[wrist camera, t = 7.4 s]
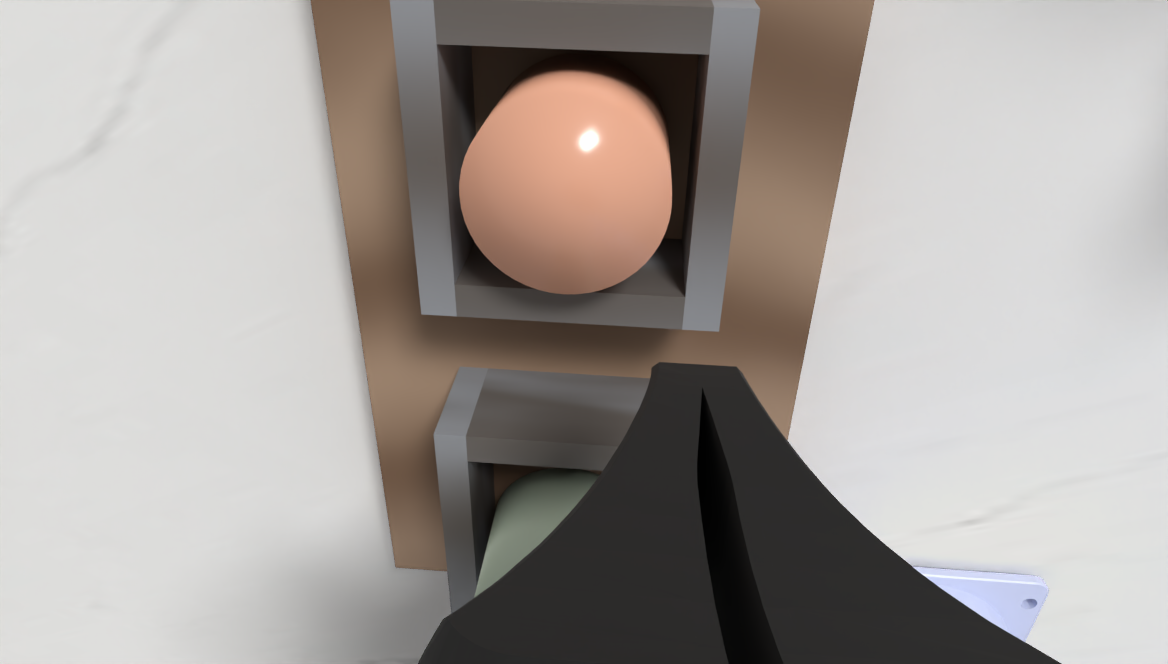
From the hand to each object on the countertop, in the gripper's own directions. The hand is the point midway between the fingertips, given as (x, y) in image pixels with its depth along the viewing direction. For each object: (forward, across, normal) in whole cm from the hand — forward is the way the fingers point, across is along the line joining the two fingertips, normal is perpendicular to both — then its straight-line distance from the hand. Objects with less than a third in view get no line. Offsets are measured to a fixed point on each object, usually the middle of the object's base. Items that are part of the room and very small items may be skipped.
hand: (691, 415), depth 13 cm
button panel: (+10, +2, +3) cm, 10 cm away
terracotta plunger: (+7, +2, -2) cm, 8 cm away
